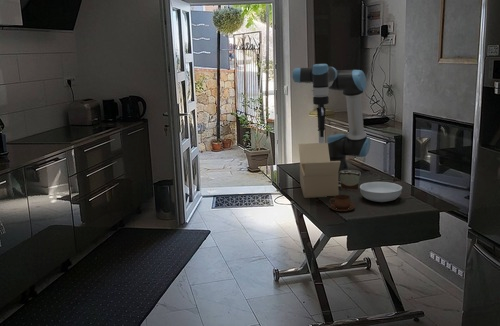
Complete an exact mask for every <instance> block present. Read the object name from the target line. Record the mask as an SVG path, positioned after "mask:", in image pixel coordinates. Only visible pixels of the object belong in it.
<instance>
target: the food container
mask: <svg viewBox="0 0 500 326" xmlns="http://www.w3.org/2000/svg"><path fill="white" fill-rule="evenodd" d="M338 176H339V181H340V189H341V190H345V189H346V190H349V191H359V190H360V178H361V177H362V174H361V171H360V170H357V169H349V170H342V171H340V172H339V173H338Z"/></svg>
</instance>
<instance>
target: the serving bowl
mask: <svg viewBox="0 0 500 326" xmlns="http://www.w3.org/2000/svg"><path fill="white" fill-rule="evenodd" d="M402 191H403V186H401V185H400V184H397V183H394V182H387V181H372V182H371V181H370V182H363V183H362V184H359V192H360V195H362V196H363V198H365V199H366V200H368V201H372V202H376V203H387V202H391V201H394V200H397V199H398V198H399V197H400V196H401V194H402Z"/></svg>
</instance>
